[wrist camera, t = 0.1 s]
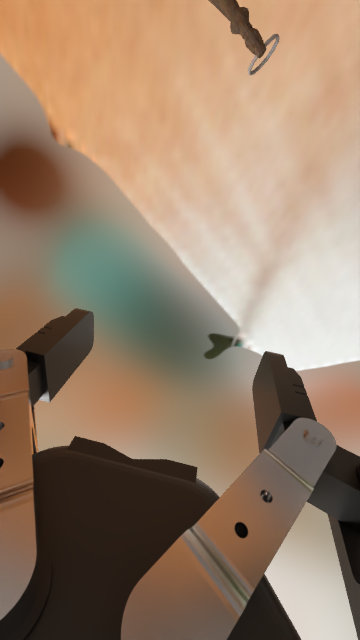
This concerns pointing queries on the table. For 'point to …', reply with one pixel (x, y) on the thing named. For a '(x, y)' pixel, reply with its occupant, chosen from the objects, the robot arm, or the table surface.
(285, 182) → the table surface
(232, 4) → the coffee pot
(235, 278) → the table surface
